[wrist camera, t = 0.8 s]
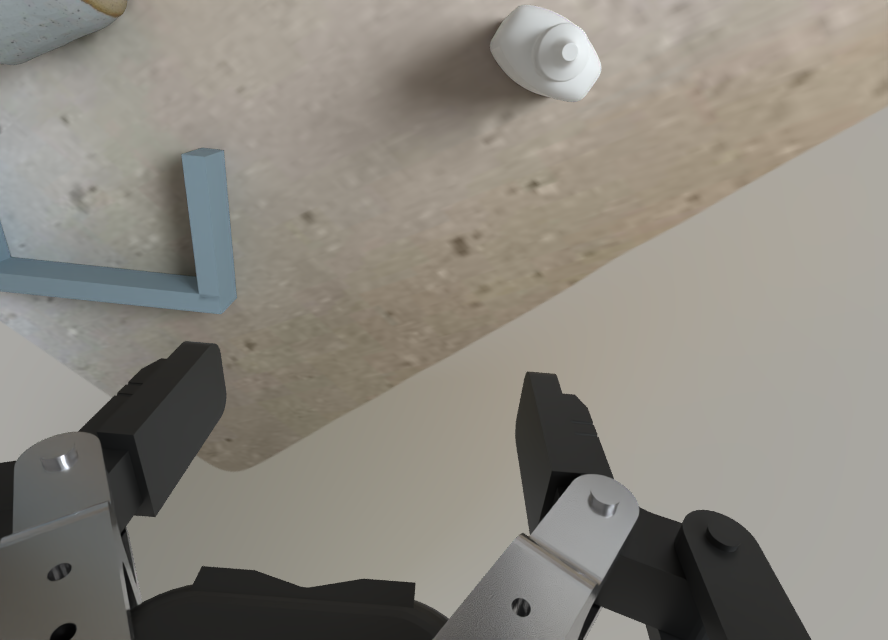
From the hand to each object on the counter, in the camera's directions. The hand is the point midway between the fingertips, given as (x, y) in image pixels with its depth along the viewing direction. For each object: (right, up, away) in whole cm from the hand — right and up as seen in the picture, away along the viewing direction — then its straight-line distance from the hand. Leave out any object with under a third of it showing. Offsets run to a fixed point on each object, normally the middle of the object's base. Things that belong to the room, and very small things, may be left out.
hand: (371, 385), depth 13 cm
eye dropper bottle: (+8, +19, +19) cm, 28 cm away
